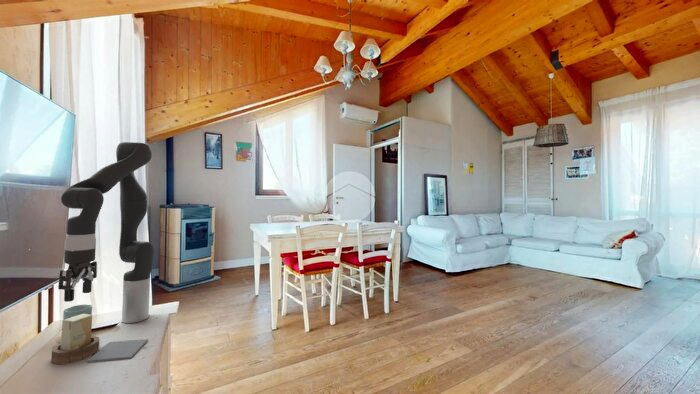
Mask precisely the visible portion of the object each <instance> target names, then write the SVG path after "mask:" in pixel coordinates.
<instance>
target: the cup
mask: <svg viewBox="0 0 700 394" xmlns="http://www.w3.org/2000/svg"><path fill="white" fill-rule="evenodd" d="M81 314H89V315H92V316H93V305H92V304H87V303H85V304H77V305H73V306H69V307H67V308H65V309H64V310H63V313H62V321H63V320H65V319H68V318H71V317H74V316H77V315H81Z"/></svg>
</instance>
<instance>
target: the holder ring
mask: <svg viewBox="0 0 700 394" xmlns="http://www.w3.org/2000/svg"><path fill="white" fill-rule="evenodd" d="M99 350H100V337H99V336H96V335H91V344H89V345H87V346H84V347H82V348H78V349H74V350H67V351H61V342H59V343H57V344H55V345H54V346H53V347H52V348H51V359H50V361H51V363H53V364H56V365H65V364H72V363H76V362H78V361H79V362H80V361H84V360H85V359H89V358H91V357H92V356H93V355H95V354H96V353H97V352H98V351H99Z"/></svg>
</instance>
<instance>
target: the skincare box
mask: <svg viewBox="0 0 700 394" xmlns="http://www.w3.org/2000/svg"><path fill="white" fill-rule="evenodd" d="M92 325H93V314H92V315H89V314H81V315H77V316H74V317H71V318H68V319H65V320H63V319H62V323H61V340H60V343H61V351H67V350H74V349H78V348H82V347H84V346H87V345H89V344H91V336H92Z"/></svg>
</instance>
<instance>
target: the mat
mask: <svg viewBox="0 0 700 394" xmlns="http://www.w3.org/2000/svg"><path fill="white" fill-rule="evenodd" d="M148 341H149V339H148V338H147V339H146V338H145V339H133V340H123V341H122V340H121V341H119V340H118V341H110V342H108V343H106V344H105V345H104V346H103V347H102V348H101V349H99V351H98V352H96V353H95V354H94V355H92V356H90V357H89V358H88V360H87V363H95V362H108V361H119V360H121V361H122V360H128V359H129V360H130V359H133V357H134V356H135V355H136V354H137V353H139V351H140V350H141V349H142V347H144V345H146V343H147V342H148Z"/></svg>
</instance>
